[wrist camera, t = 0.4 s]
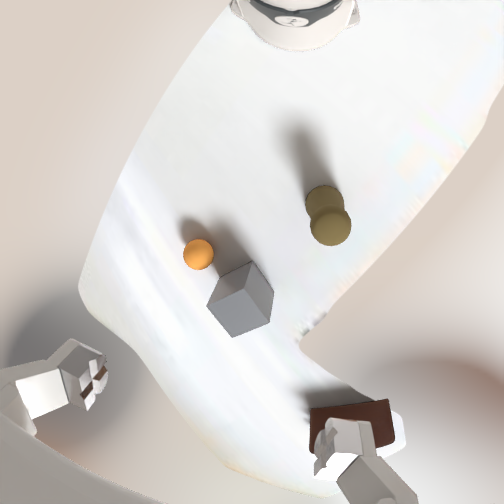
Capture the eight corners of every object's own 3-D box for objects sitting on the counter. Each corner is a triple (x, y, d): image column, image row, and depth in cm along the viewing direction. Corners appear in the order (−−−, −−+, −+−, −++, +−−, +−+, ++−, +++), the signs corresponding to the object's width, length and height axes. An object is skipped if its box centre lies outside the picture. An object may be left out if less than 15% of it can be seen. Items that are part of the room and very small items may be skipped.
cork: (297, 201, 45) (296, 226, 35) (328, 177, 43) (337, 195, 33) (321, 230, 47) (326, 262, 37) (351, 208, 44) (366, 234, 35)
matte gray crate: (252, 260, 51) (244, 288, 43) (274, 291, 53) (269, 322, 45) (219, 277, 53) (206, 306, 45) (241, 306, 55) (232, 337, 47)
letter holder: (310, 407, 66) (308, 455, 53) (388, 397, 62) (397, 443, 49) (313, 427, 70) (311, 471, 57) (385, 418, 66) (391, 460, 53)
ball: (188, 233, 50) (178, 244, 46) (217, 236, 50) (209, 249, 45) (189, 259, 52) (179, 273, 48) (216, 263, 52) (208, 277, 47)
